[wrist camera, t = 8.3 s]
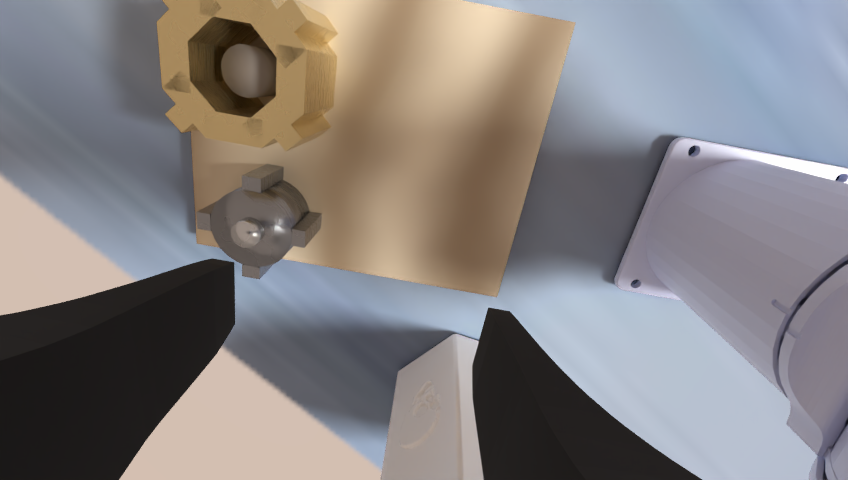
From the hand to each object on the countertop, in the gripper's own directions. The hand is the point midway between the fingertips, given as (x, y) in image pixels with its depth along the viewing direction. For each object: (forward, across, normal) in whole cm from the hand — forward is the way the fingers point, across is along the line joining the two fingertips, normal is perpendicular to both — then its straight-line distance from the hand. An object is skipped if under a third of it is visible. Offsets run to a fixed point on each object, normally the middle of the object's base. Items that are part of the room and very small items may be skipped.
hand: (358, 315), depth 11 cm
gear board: (+10, +2, -3) cm, 11 cm away
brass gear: (+9, +6, -6) cm, 12 cm away
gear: (+9, +6, +1) cm, 11 cm away
